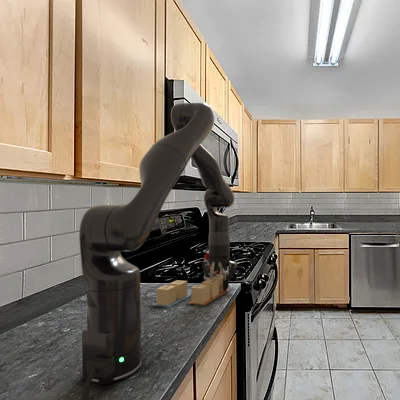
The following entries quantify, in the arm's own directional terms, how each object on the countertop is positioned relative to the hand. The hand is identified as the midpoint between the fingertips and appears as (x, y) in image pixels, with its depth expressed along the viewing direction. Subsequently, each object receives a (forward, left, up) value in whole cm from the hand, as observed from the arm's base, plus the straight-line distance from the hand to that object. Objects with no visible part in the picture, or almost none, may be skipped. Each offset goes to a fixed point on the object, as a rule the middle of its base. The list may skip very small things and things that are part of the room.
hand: (219, 289), depth 113 cm
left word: (-10, +10, -1) cm, 14 cm away
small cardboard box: (0, 0, 0) cm, 0 cm away
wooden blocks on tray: (-6, 0, -1) cm, 6 cm away
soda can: (+12, +10, -1) cm, 16 cm away
